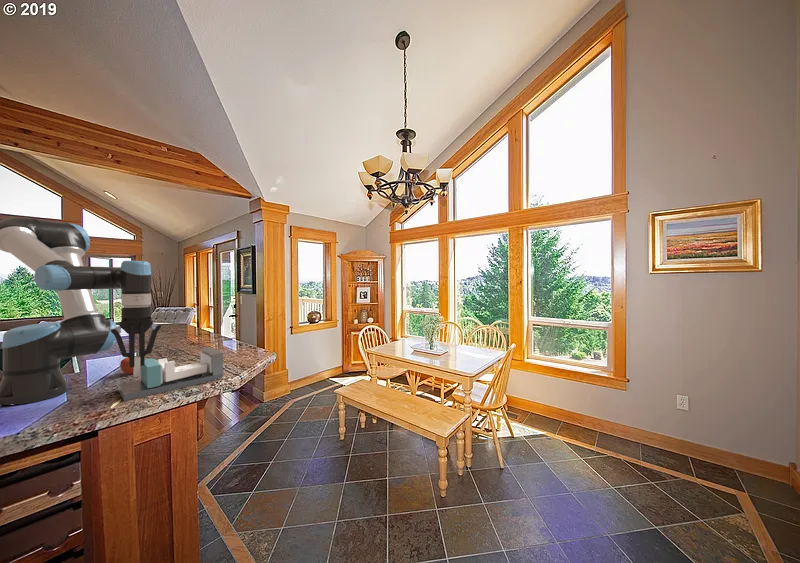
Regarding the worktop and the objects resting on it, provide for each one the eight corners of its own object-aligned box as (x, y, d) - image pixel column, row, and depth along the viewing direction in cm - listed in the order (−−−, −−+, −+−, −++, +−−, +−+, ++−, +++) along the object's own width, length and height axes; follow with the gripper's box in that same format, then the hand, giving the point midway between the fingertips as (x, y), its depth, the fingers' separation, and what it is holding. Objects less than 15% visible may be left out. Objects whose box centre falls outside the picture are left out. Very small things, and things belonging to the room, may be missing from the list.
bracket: (166, 384, 101) (165, 362, 101) (157, 380, 105) (157, 359, 105) (206, 374, 112) (206, 354, 112) (197, 371, 116) (197, 352, 116)
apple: (120, 373, 119) (120, 353, 119) (144, 369, 124) (144, 351, 124) (119, 378, 114) (119, 357, 114) (144, 374, 119) (144, 354, 119)
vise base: (118, 390, 101) (118, 384, 101) (210, 371, 123) (210, 366, 123) (124, 401, 92) (124, 394, 92) (223, 378, 113) (223, 373, 113)
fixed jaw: (199, 368, 120) (199, 348, 120) (210, 366, 123) (210, 347, 123) (211, 376, 110) (211, 354, 110) (223, 373, 113) (222, 352, 113)
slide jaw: (140, 379, 105) (140, 360, 105) (155, 376, 108) (154, 357, 108) (147, 388, 97) (147, 367, 97) (163, 385, 100) (162, 364, 100)
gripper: (110, 308, 92) (111, 383, 92) (163, 305, 102) (163, 373, 102) (108, 307, 97) (109, 378, 97) (158, 304, 107) (159, 369, 107)
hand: (136, 375), depth 100 cm, fingers closed
